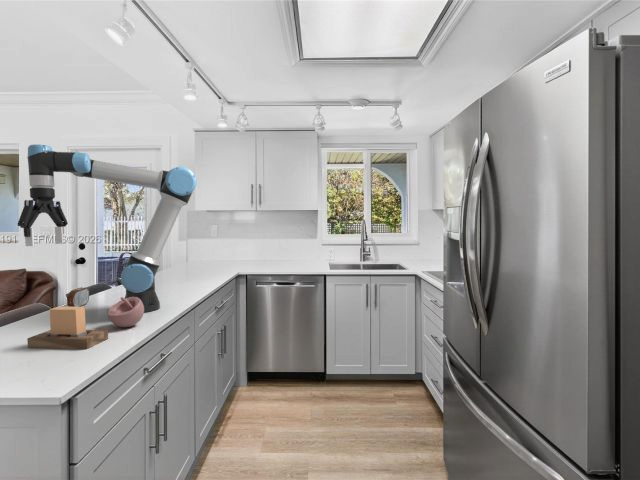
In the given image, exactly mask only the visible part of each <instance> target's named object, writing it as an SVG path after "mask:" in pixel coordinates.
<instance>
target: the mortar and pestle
mask: <svg viewBox="0 0 640 480" xmlns="http://www.w3.org/2000/svg"><path fill="white" fill-rule="evenodd" d="M144 315H145V312H144V305H143V303H142V301H141V300H140V299H139V298H138V297H129V298H126V299H125V297H123V296H122V297H121V296H120V300H119V301H118V302H116V303H114V304H113V305H112V306H111V307H110V308H109V310H108V311H107V317H108V319H109V321H110V322H111V323H112V324H113V325H114V326H116V327H119V328H131V327H134V326H135V325H137V324H138V323H139V322H140V321H141V320H142V319H143V317H144Z"/></svg>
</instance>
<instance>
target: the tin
mask: <svg viewBox="0 0 640 480" xmlns="http://www.w3.org/2000/svg"><path fill="white" fill-rule="evenodd" d="M89 300H90V290H89V288H87V287H77V288H75V289H72V290H70V291H69V292H68V294H67V298H66V305H67V307H85V305H87V304H88V303H89Z"/></svg>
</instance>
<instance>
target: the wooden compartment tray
mask: <svg viewBox="0 0 640 480" xmlns="http://www.w3.org/2000/svg"><path fill="white" fill-rule="evenodd" d="M86 331H87V334H86V335H83V336H81V337H71V336H70V334H65V335H62V336H60V337H50V334H51V329H49V330H46V331H43V332H41V333H38V334H35V335H32V336H30V337H27V339H26V340H27V348H28V349H31V348H32V349H69V350H70V349H71V350H76V349H77V350H88V349H90V348H93V347H94V346H96V345H98V344H100V343H102V342H105V341H107V340H108V339H109V330H108V329H86Z"/></svg>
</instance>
